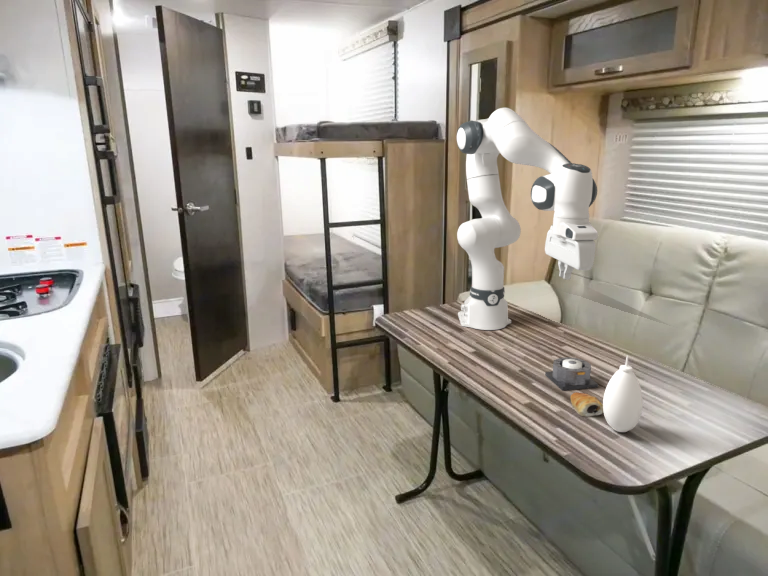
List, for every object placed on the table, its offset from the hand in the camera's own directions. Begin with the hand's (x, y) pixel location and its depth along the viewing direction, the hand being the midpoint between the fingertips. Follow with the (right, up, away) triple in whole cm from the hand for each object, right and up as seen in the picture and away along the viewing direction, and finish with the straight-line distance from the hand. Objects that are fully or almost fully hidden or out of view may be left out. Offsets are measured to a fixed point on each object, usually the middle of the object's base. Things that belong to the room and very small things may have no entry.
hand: (564, 278), depth 140 cm
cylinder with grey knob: (+2, -27, +1) cm, 27 cm away
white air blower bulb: (+4, -35, -24) cm, 42 cm away
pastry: (0, -33, -14) cm, 35 cm away
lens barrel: (+2, -28, +2) cm, 28 cm away
